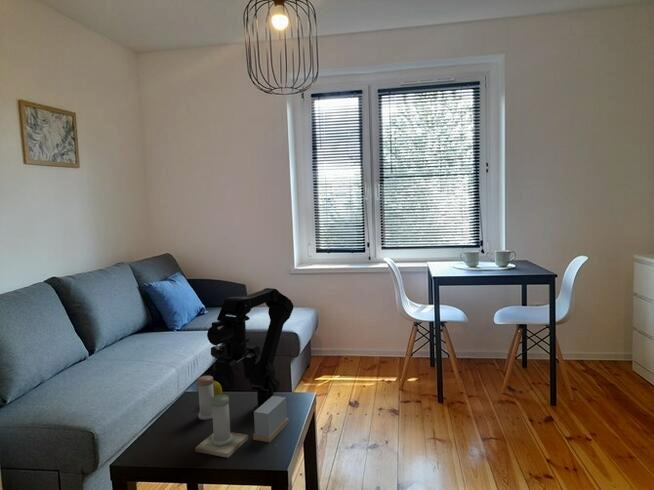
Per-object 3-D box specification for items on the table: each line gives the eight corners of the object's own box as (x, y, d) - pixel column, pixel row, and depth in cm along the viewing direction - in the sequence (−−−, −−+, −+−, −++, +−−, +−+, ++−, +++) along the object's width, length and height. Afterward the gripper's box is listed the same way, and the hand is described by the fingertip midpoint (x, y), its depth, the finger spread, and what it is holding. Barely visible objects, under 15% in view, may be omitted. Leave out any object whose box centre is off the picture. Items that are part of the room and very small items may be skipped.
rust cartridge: (205, 410, 159) (203, 374, 158) (220, 413, 157) (218, 376, 156) (194, 418, 153) (192, 380, 152) (209, 420, 151) (207, 382, 150)
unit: (273, 420, 150) (272, 395, 149) (288, 422, 148) (287, 397, 147) (253, 439, 138) (251, 412, 137) (269, 442, 136) (268, 414, 135)
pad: (217, 433, 142) (217, 429, 142) (248, 438, 138) (248, 434, 138) (195, 451, 132) (195, 447, 132) (228, 457, 128) (227, 453, 128)
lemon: (207, 406, 162) (205, 384, 162) (206, 400, 168) (205, 379, 167) (223, 404, 164) (221, 382, 163) (222, 398, 169) (221, 377, 168)
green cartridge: (213, 436, 138) (211, 394, 137) (234, 434, 138) (231, 393, 137) (210, 446, 132) (207, 402, 131) (231, 445, 132) (228, 401, 131)
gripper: (231, 327, 158) (233, 371, 159) (198, 343, 141) (201, 392, 142) (259, 329, 154) (262, 374, 155) (229, 345, 137) (231, 396, 138)
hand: (239, 383), depth 148 cm, fingers open, 9 cm apart
